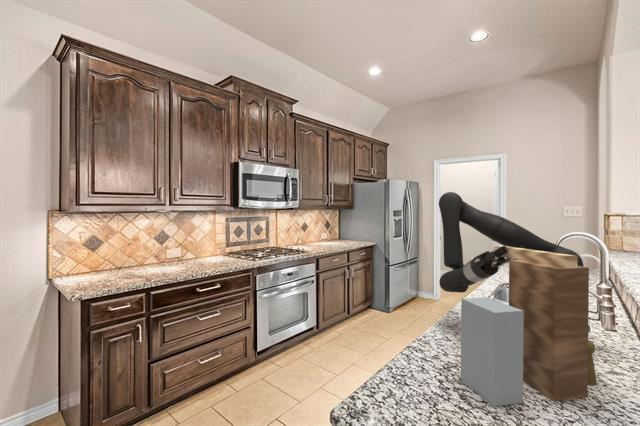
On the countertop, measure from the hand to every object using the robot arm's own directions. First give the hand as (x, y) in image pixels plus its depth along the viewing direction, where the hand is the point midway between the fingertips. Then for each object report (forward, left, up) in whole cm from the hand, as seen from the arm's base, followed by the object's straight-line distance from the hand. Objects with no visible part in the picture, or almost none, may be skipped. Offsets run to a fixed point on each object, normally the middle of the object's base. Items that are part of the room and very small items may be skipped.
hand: (514, 248), depth 93 cm
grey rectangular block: (+11, +17, -35) cm, 40 cm away
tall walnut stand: (-4, +9, -35) cm, 36 cm away
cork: (-15, +4, -35) cm, 38 cm away
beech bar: (-2, +5, -3) cm, 6 cm away
